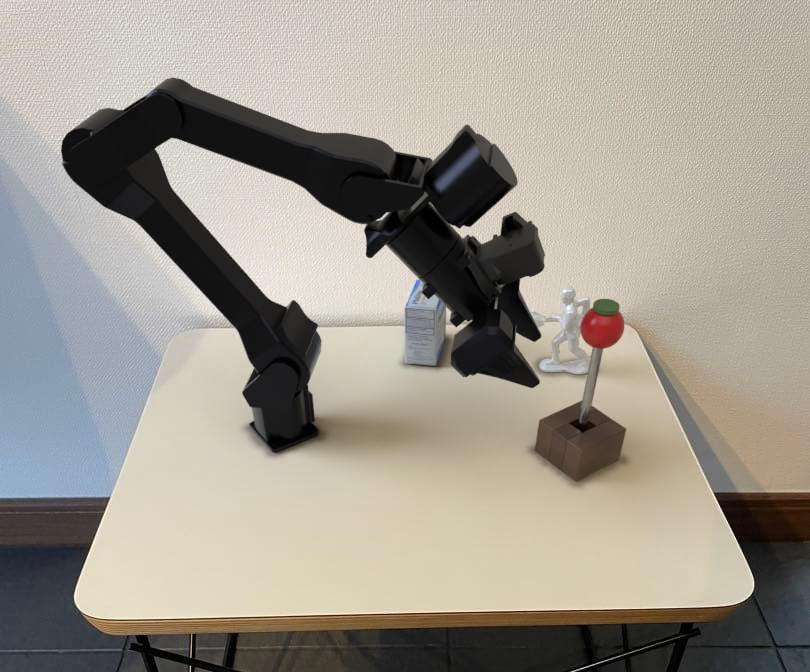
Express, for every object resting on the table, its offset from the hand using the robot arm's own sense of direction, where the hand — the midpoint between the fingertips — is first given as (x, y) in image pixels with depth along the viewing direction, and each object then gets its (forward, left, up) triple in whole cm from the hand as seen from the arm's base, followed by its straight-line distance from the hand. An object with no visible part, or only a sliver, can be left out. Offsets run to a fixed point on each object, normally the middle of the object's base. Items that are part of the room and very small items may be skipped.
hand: (537, 361), depth 82 cm
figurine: (+15, +11, -12) cm, 23 cm away
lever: (+4, -4, -12) cm, 14 cm away
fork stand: (+4, -4, -12) cm, 14 cm away
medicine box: (+3, +25, -12) cm, 28 cm away
